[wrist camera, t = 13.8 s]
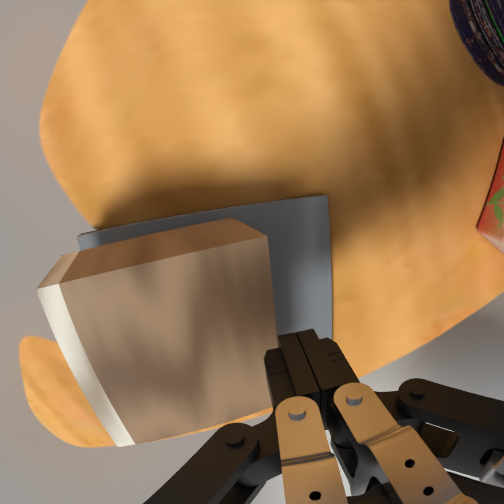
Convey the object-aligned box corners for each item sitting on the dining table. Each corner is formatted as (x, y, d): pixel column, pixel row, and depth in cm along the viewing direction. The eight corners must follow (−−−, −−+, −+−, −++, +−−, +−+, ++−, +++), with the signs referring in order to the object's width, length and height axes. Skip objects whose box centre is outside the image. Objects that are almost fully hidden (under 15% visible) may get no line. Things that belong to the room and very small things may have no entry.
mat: (81, 233, 15) (76, 236, 15) (323, 194, 16) (327, 196, 16) (128, 371, 19) (126, 377, 18) (328, 343, 19) (331, 348, 19)
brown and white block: (232, 217, 16) (62, 255, 13) (267, 235, 11) (36, 289, 9) (252, 357, 18) (116, 392, 16) (283, 402, 14) (117, 446, 12)
